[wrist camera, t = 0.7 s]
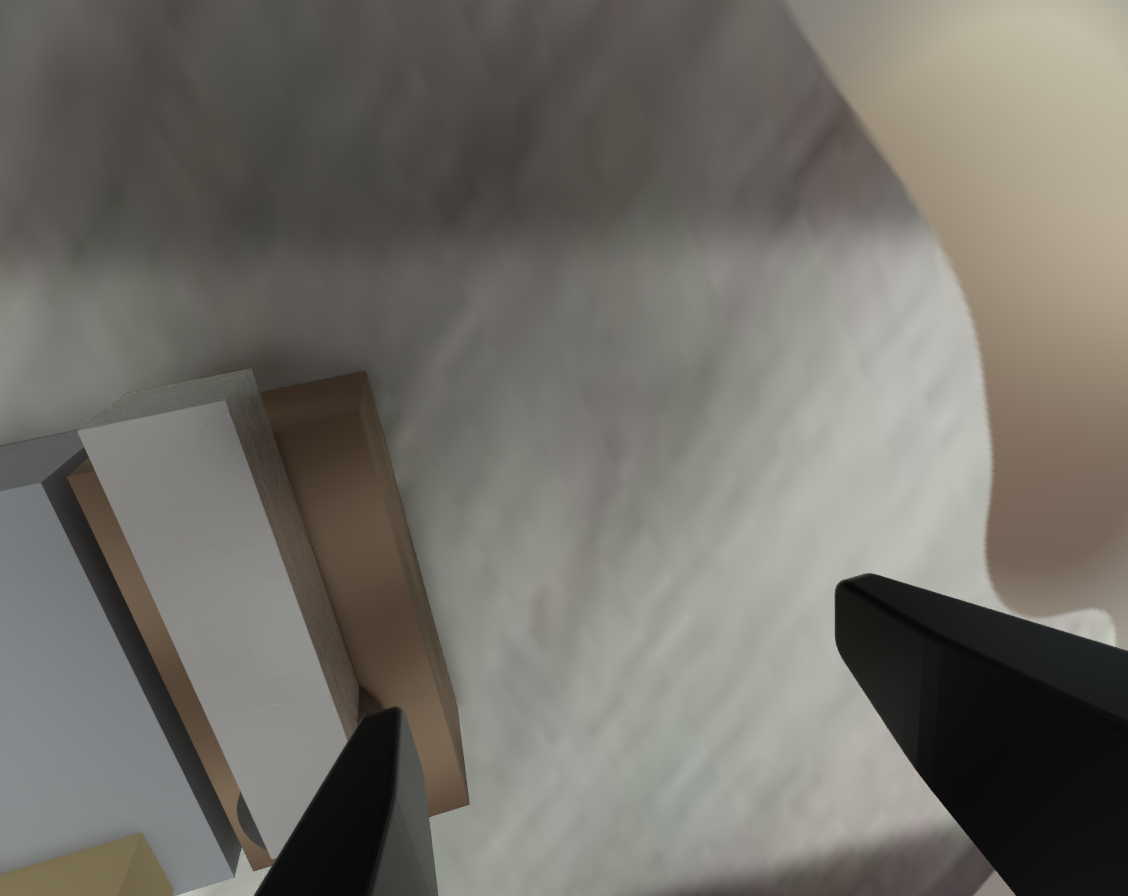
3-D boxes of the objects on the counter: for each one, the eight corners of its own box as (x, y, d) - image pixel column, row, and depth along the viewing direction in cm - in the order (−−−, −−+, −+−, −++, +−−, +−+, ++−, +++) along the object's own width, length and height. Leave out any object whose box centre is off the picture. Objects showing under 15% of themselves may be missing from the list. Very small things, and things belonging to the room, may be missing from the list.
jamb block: (457, 708, 23) (469, 804, 20) (276, 760, 22) (253, 871, 19) (365, 371, 19) (359, 414, 15) (133, 418, 18) (66, 477, 14)
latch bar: (400, 761, 18) (401, 839, 16) (277, 798, 18) (262, 882, 16) (270, 364, 14) (248, 395, 12) (105, 396, 14) (51, 436, 12)
